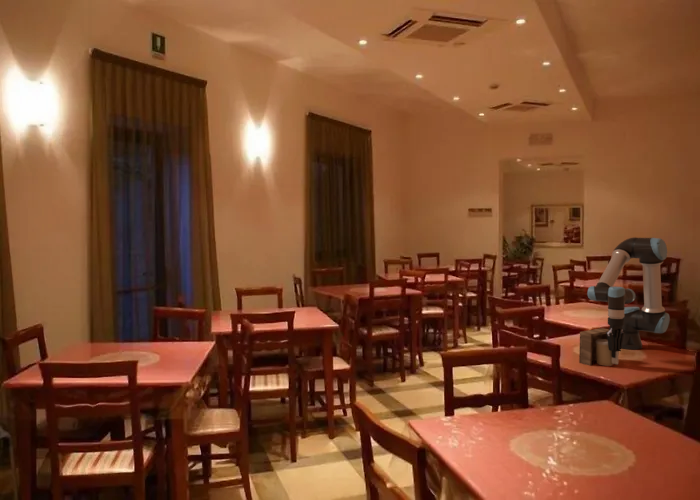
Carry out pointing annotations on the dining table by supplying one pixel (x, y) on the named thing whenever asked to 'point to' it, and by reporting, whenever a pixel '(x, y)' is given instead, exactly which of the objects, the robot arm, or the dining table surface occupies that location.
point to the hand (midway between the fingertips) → (614, 363)
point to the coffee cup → (603, 353)
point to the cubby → (590, 344)
